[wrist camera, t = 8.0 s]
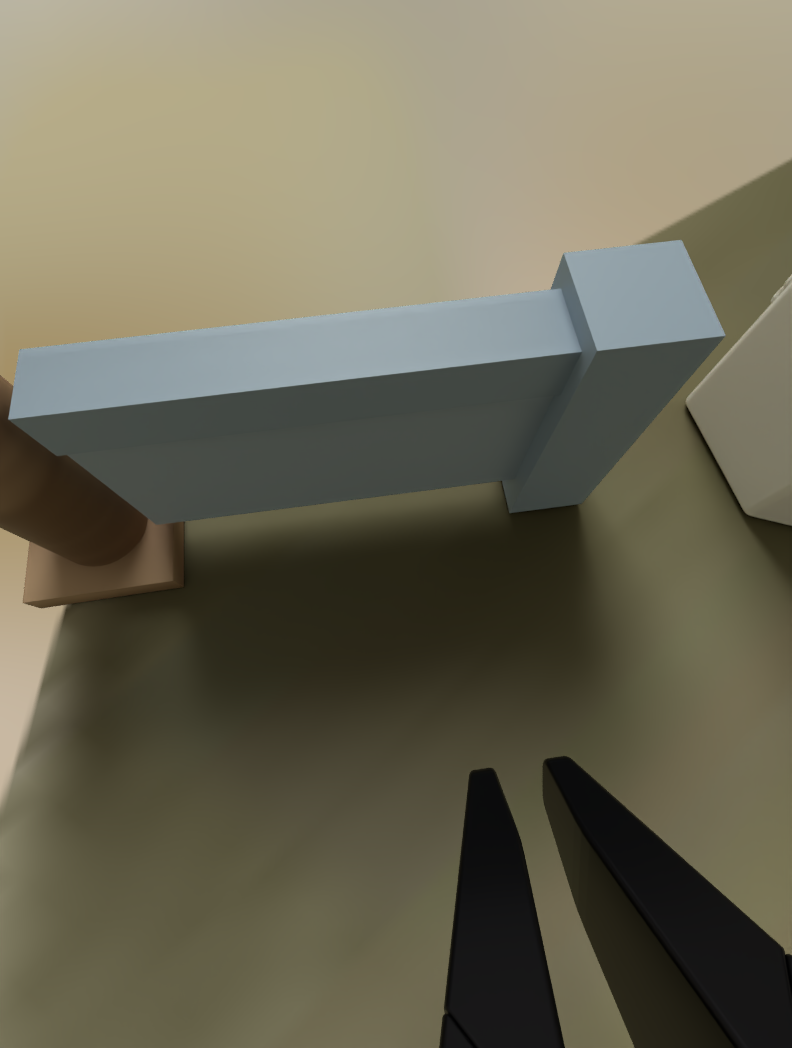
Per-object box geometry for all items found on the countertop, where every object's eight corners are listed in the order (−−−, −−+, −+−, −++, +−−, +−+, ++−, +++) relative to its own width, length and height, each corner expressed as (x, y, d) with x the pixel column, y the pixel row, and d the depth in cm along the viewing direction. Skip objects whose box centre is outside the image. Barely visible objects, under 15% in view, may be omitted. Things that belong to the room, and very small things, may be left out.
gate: (174, 556, 16) (-17, 423, 9) (176, 488, 17) (3, 314, 9) (581, 504, 16) (725, 335, 9) (562, 440, 17) (681, 240, 10)
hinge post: (183, 586, 16) (-131, 401, 6) (40, 608, 16) (-500, 448, 6) (183, 463, 17) (-69, 168, 8) (53, 481, 17) (-363, 200, 8)
